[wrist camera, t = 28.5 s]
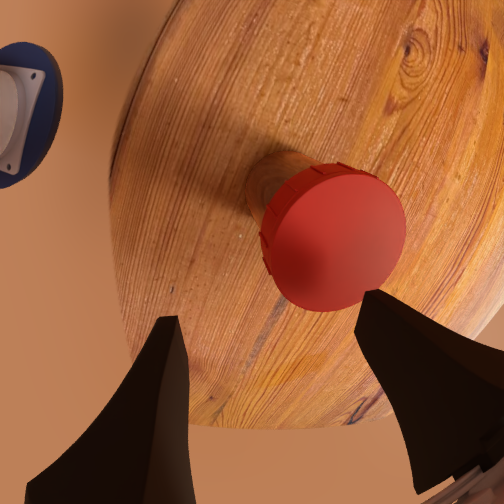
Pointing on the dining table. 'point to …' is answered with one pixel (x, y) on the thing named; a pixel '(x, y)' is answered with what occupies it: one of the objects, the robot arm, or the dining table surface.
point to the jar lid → (332, 236)
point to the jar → (272, 179)
